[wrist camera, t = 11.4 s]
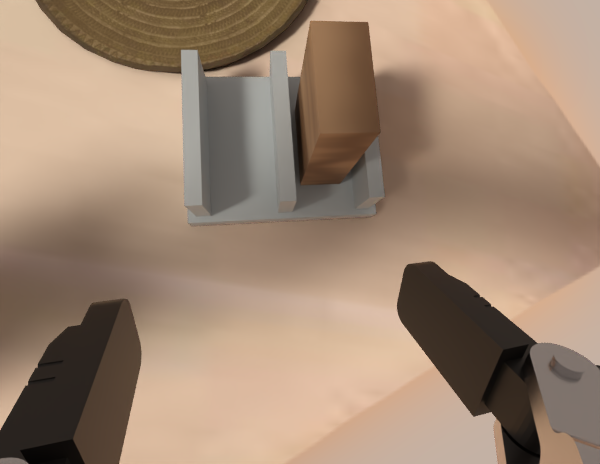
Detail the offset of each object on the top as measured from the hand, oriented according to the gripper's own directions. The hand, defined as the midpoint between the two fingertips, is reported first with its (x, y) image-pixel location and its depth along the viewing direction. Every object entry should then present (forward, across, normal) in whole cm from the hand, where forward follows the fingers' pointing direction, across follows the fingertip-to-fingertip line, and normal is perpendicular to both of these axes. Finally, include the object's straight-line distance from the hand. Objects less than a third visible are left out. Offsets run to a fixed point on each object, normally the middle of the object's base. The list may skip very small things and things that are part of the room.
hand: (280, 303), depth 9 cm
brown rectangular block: (+20, -7, 0) cm, 21 cm away
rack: (+22, -4, +1) cm, 22 cm away
